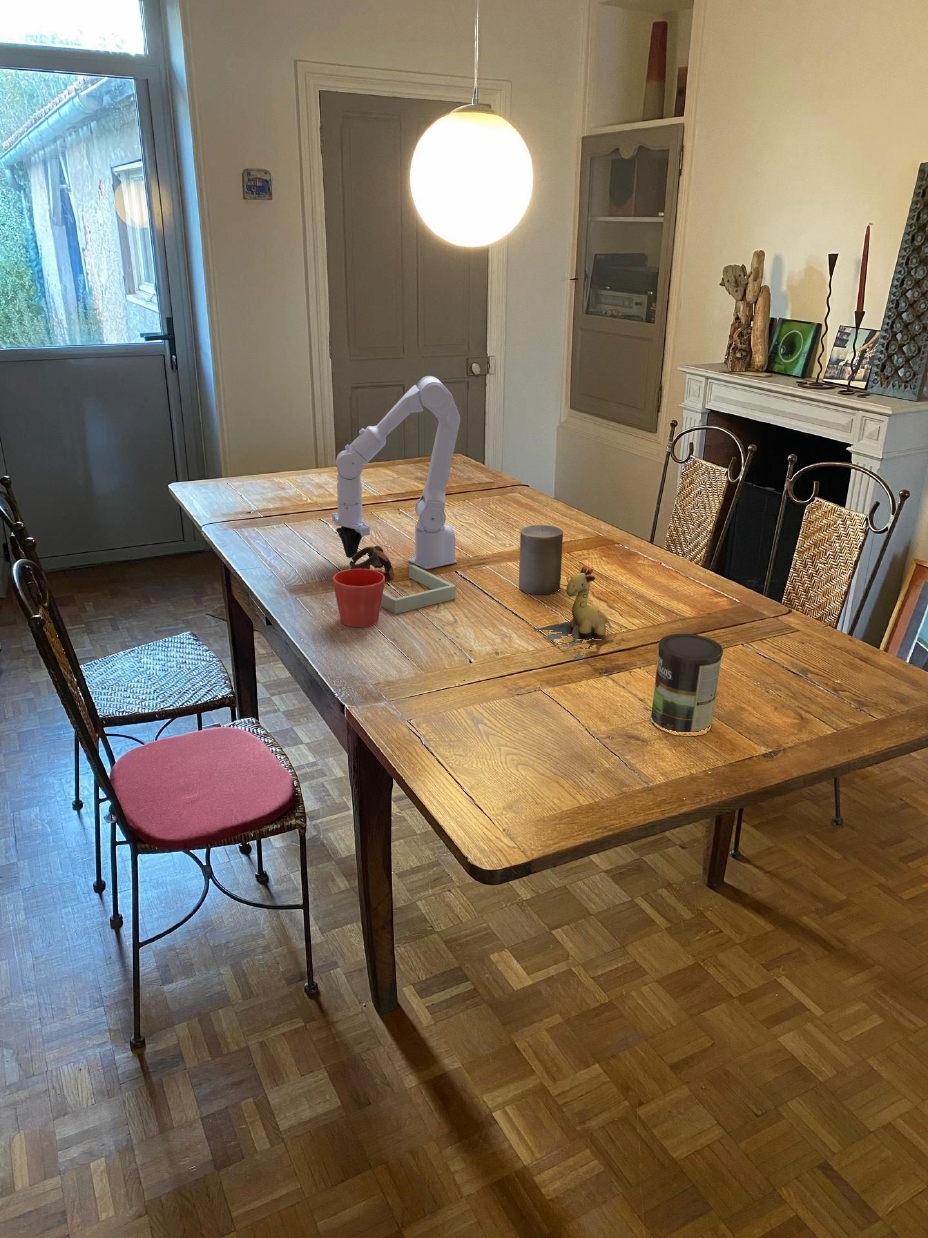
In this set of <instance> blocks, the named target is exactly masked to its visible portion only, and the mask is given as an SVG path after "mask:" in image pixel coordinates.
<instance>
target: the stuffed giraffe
mask: <svg viewBox="0 0 928 1238" xmlns="http://www.w3.org/2000/svg"><path fill="white" fill-rule="evenodd" d="M593 572H594V568H589V569H588V566H587V565H584V566H582V567H581V569H580V570H579V572H578V573H575V574H573V576H572V577H571V578H570V579H569V582H568V583H567V585H566V587H565V591H566V595H567V596H568V598H569V597H574V596H575V599H574V601H573V604H572V607H571V614H572V619H571V621H567V622H566V621H565V622H562V623H555V624H552V625H548V626H543V627H540V628H539V627H538V628H534V629H533V631H535V630H538V631H539V630H553V631H551V632H562V633H557V634H551V633H550V634H547V636H546V635H545V636H546V637H544V638H545V639H546V640H547V641H548V642H549V641H551V640H552V641H554V639H560V638H562V637H561V636H567V637H569V636H568V634H572V635H571V636H572V637H573V638H575V639H585V640H589V639H592V638H594V639H602V640H603V639H604V638H605V635H606V632H607V626H608V629H612V628H613V627H612V625H611V623H610V619H609V618H608V616H607V615H606V614H605V613H604V612H602V611H601V609H599V608H598V607H596V606H594V605H591V604H588V597H589V594H590V587H591V586H590V585H591V582H594V581H595V580H596V576H595V575H592V574H593ZM606 624H607V625H606ZM538 631H537V633H542V632H541V631H539V632H538ZM623 632H624V631H623ZM571 636H570V637H571ZM572 637H571V638H572ZM573 638H572V639H573ZM575 639H574V640H573V641H574V642H573V641H571V643H569V644H565V645H566V646H563V647H568V645H569V647H571V645H575V644H576V643H582V641H583V640H580V641H575ZM558 643H564V642H558ZM556 644H557V643H555V645H556ZM555 645H554V646H555ZM590 647H592V646H591V645H590V646H589V647H588V648H585V649H590ZM567 649H568V650H570V649H569V648H567ZM583 654H584V653H583ZM576 656H577V657H576ZM576 656H575V657H573V658H574V659H573V661H576V660H582V659H584V657H585V656H584V655H578V654H577V655H576ZM583 656H584V657H583Z"/></svg>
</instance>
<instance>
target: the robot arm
mask: <svg viewBox="0 0 928 1238" xmlns="http://www.w3.org/2000/svg"><path fill="white" fill-rule="evenodd" d="M423 407H425V408H426V409H428V410H429V411H430V412H432V413H433V415H434V416H435V418H436V419H437V420H438V423H437V429H436V433H435V438H434V443H433V447H432V451H431V452H432V453H431V456H430V461H429V466H428V470H427V472H428V473H427V476H426V481H425V485H424V487H423V490H422V492H421V496H420V498H419V499H418V501H417V502H416V504H415V507H414V511H415V514H416V516H417V518H418V521H417V522H416V523H415V528H414V530H415V531H414V532H415V533H414V538H415V539H414V541H415V543H414V545H415V547H414V550H415V551H414V555H415V556H414V557H410V558H408V559H407V561H408V562H409V563H412V564H413V565H415V566H417V567H419V568H421V569H423V570H430V569H435V568H439V567H443V566H447V565H452V564H456V563H457V562H458V560H456V534H455V531H454V529H453V527H452V526H451V525H449V524H446V520H447V519H446V517H447V515H446V513H445V506H446V490H447V484H448V481H449V475H450V470H451V466H452V461H453V457H454V452H455V447H456V444H457V443H456V442H457V439H458V433H459V428H460V423H461V416H460V413H459V410H458V407H457V405H456V402H455V399H454V397H453V394H452V393H451V392H450V390H449V389H448V388H447V387H446V386H445V384H443V383H442V381H440V379H439V378H437V377H435V376H431V375H427V376H424V377H422V378H421V379H420V380H419V381H418V382H417V384H414V385H413V386H411V387H410V388H409V389H408V391H407V392H405V393H404V395H403V396H401V398H400V399H399V400H398V401H397V402H396V403H395V404H394V405H393V407H392V408H391V409H390V410H389V411H388V412H387V413H386V414H385V416H384V417H382V419H381V420H380V421H379V423H378V424H376V425H374V426H373V425H372V426H371V425H368V426H367V427H366V428H364V427H363V428H361V429H360V430H359V431H358V433H359V435H358V436H357V437H356V438H355V439H354V440H353V441H352V442H351V443H350V444H346V445H345V447H344V449H345V450H342V451H340V452H338V454H337V457H336V459H335V462H334V463H335V465H336V469H337V474H336V475H337V476H336V478H337V483H336V488H337V490H336V491H337V492H336V493H337V512H332V513H331V521H332V522H333V523H334V524H333V525H335V526H337V528H336V533H337V535H338V536H339V538H340V540H341V543H342V546H343V549H344V550H343V551H344V554H345V557H346V558H348V559H352V557H353V556H354V555H355V554H356V553H357V552H358V551H359V546H360V544H361V540H362V538H363V537H366V536H370V535H371V526H369V525H367V523H366V522H365V521H364V519H363V488H362V484H363V483H362V481H361V475H362V472H363V470H364V467H363V466H364V465H367V464H368V463H369V462H370V461H371V460H372V459H373V458H374V457H375V456H376V455H377V454H378V453H379V452H380V451H381V450H382V449H383V448H384V446H386V445H387V439H386V438H387V436H388V435H389V434H390V433H391V432H392V431H394V429H395V428H397V426H399V424H401V423H402V422H403V421H404V420H405V419H407V417H408V416H410V415H411V414H415V413H422V412H425V409H424V408H423Z"/></svg>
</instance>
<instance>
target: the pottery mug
mask: <svg viewBox="0 0 928 1238" xmlns="http://www.w3.org/2000/svg"><path fill="white" fill-rule="evenodd" d="M366 555H367V556H368V558H367V559H365V560H364V561H362V562H360V563H357V562H358V561H359V560H360V559H361V558H362V557H365V556H366ZM356 563H357V564H356ZM349 566H350V569H370V570H371V566H372V567H373V568H374V569H382V568H384V572H385V574H388V575H389V580H391V581H393V580H394V577H395V573H394V567H393V565H392V563H391V560H390V558H389V557H388V555H386V554H385V552H384V550H383V548H382V547H381V546H380V545H375V546H373V545H372V546H365V547H364V548H361V549H360V550H358V552H357V553H356V554H355V555H354V556H353V557H352V558H351V560H350V562H349Z"/></svg>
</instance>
